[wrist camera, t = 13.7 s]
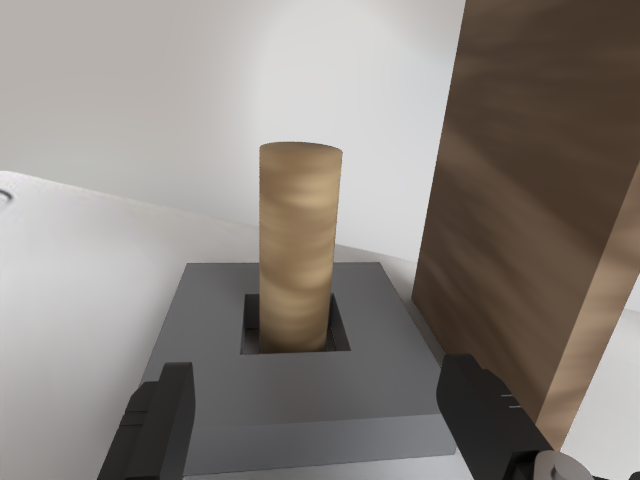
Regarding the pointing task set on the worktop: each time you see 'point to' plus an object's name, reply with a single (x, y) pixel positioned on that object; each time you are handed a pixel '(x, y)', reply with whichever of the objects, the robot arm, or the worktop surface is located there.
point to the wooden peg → (297, 244)
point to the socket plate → (301, 376)
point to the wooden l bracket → (536, 197)
